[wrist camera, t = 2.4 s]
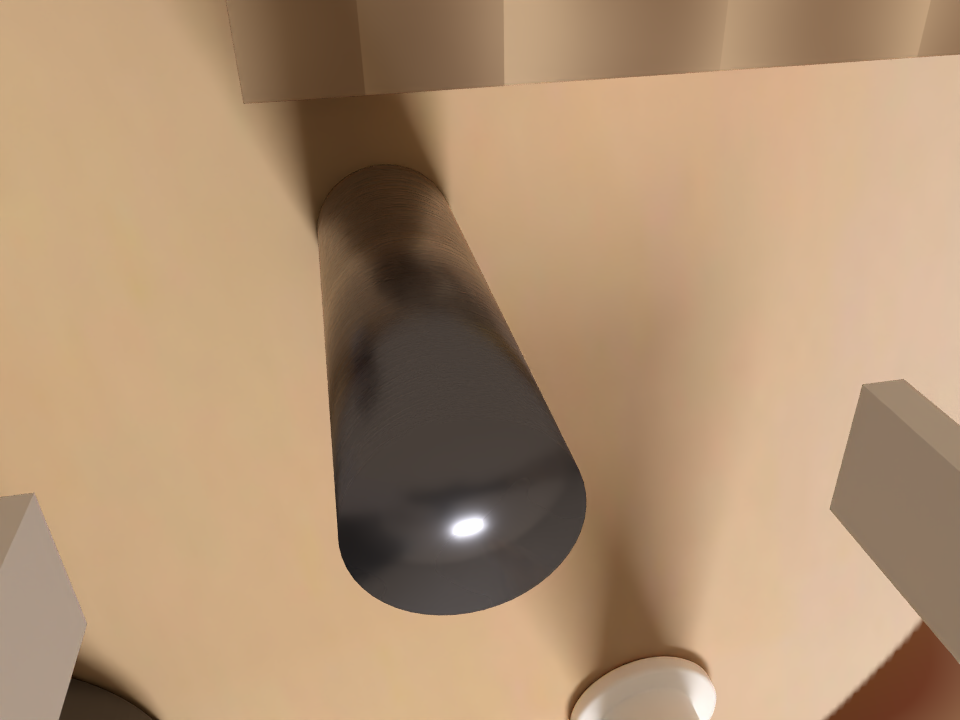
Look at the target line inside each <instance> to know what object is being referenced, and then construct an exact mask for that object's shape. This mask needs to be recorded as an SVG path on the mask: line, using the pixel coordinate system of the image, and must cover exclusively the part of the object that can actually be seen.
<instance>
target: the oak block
mask: <svg viewBox="0 0 960 720" xmlns="http://www.w3.org/2000/svg"><path fill="white" fill-rule="evenodd" d="M226 4H227V10H228V16H229V21H230V27H231V33H232V39H233V45H234V50H235V56H236V62H237V68H238V74H239V80H240V85H241V91H242V97H243V103H244V104H247V103H262V102H277V101H291V100H306V99H320V98H335V97H349V96H364V95H378V94H393V93H407V92H422V91H436V90H451V89H465V88H480V87H494V86H509V85H523V84H538V83H552V82H567V81H581V80H596V79H610V78H625V77H639V76H654V75H668V74H683V73H697V72H712V71H726V70H741V69H755V68H770V67H784V66H799V65H813V64H828V63H842V62H857V61H871V60H886V59H900V58H915V57H929V56H944V55H958V54H960V0H226Z"/></svg>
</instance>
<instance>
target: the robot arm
mask: <svg viewBox="0 0 960 720" xmlns="http://www.w3.org/2000/svg"><path fill="white" fill-rule="evenodd" d="M830 510H831V511H832V512H833V514H834V515H835V516H836V517H837V518H838V520H839V521H840V522H841V523H842V524H843V526H844V527H845V528H846V529H847V530H848V532H849V533H850V534H851V535H852V536H853V537H854V539H855V540H856V541H857V542H858V543H859V545H860V546H861V547H862V548H863V549H864V551H865V552H866V553H867V554H868V555H869V556H870V558H871V559H872V560H873V561H874V562H875V564H876V565H877V566H878V567H879V568H880V570H881V571H882V572H883V573H884V574H885V576H886V577H887V578H888V579H889V580H890V581H891V583H892V584H893V585H894V586H895V587H896V589H897V590H898V591H899V592H900V593H901V595H902V596H903V597H904V598H905V599H906V600H907V602H908V603H909V604H910V605H911V606H912V608H913V609H914V610H915V611H916V612H917V614H918V615H919V616H920V617H921V618H922V620H923V621H924V622H925V623H926V624H927V625H928V627H929V628H930V629H931V630H932V631H933V633H934V634H935V635H936V636H937V637H938V638H939V640H940V641H941V642H942V643H943V644H944V646H945V647H946V648H947V649H948V650H949V652H950V653H951V654H952V655H953V656H954V657H955V659H956V660H957V661H958V662H959V664H960V425H959V424H957V423H956V422H955V421H954V420H953V419H951V418H950V417H949V416H948V415H946V414H945V413H944V412H943V411H942V410H940V409H939V408H938V407H937V406H936V405H934V404H933V403H932V402H931V401H929V400H928V399H927V398H926V397H925V396H923V395H922V394H921V393H920V392H919V391H917V390H916V389H915V388H914V387H913V386H911V385H910V384H909V383H908V382H906V381H905V380H904V379H901V380H893V381H886V382H878V383H870V384H863V385H862V388H861V392H860V396H859V400H858V404H857V407H856V411H855V415H854V419H853V422H852V426H851V430H850V434H849V438H848V441H847V445H846V449H845V453H844V456H843V460H842V464H841V468H840V471H839V475H838V479H837V483H836V487H835V490H834V494H833V498H832V502H831V505H830ZM86 626H87V622H86V620H85V617H84V615H83V612H82V610H81V607H80V605H79V602H78V600H77V597H76V595H75V592H74V590H73V587H72V585H71V583H70V580H69V578H68V575H67V573H66V570H65V568H64V565H63V563H62V560H61V558H60V555H59V553H58V550H57V548H56V545H55V543H54V540H53V538H52V535H51V533H50V530H49V528H48V525H47V523H46V520H45V518H44V516H43V513H42V511H41V508H40V506H39V503H38V501H37V498H36V496H35V493H29V494H21V495H13V496H6V497H0V720H153V719H152V718H150V717H149V716H148V715H147V714H145V713H144V712H143V711H142V710H140V709H139V708H137V707H136V706H134V705H133V704H131V703H129V702H128V701H126V700H124V699H122V698H121V697H119V696H117V695H115V694H113V693H111V692H108V691H106V690H104V689H101V688H99V687H97V686H94V685H91V684H88V683H86V682H83V681H80V680H76V679H73V678H71V676H72V673H73V670H74V666H75V663H76V660H77V656H78V653H79V649H80V646H81V643H82V639H83V636H84V633H85V629H86Z"/></svg>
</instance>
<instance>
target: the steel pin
mask: <svg viewBox="0 0 960 720" xmlns="http://www.w3.org/2000/svg"><path fill="white" fill-rule="evenodd" d="M317 232H318V247H319V262H320V276H321V291H322V306H323V320H324V335H325V350H326V364H327V379H328V394H329V409H330V423H331V438H332V453H333V467H334V482H335V497H336V512H337V526H338V541H339V548H340V552H341V556H342V559H343V561H344V563H345V565H346V568H347V569H348V571H349V572H350V574H351V575H352V577H353V578H354V580H355V581H356V582H357V583H358V584H359V585H360V586H361V587H362V588H363V589H364V590H366V591H367V592H368V593H369V594H371V595H372V596H373V597H375V598H377V599H379V600H380V601H382V602H384V603H386V604H388V605H391V606H393V607H396V608H398V609H402V610H405V611H409V612H414V613H420V614H427V615H457V614H465V613H471V612H476V611H480V610H485V609H488V608H491V607H494V606H497V605H500V604H503V603H505V602H507V601H510V600H512V599H514V598H516V597H518V596H520V595H522V594H524V593H525V592H527V591H529V590H530V589H532V588H533V587H535V586H536V585H538V584H539V583H540V582H542V581H543V580H544V579H545V578H546V577H548V576H549V575H550V574H551V573H552V572H553V571H554V570H555V569H556V568H557V567H558V566H559V565H560V564H561V563H562V561H563V560H564V559H565V558H566V556H567V555H568V554H569V552H570V551H571V549H572V548H573V546H574V544H575V543H576V541H577V538H578V536H579V534H580V532H581V529H582V526H583V522H584V519H585V512H586V492H585V487H584V482H583V479H582V477H581V474H580V471H579V469H578V467H577V465H576V463H575V461H574V459H573V457H572V455H571V453H570V451H569V449H568V447H567V445H566V443H565V441H564V439H563V437H562V435H561V433H560V431H559V429H558V427H557V425H556V422H555V420H554V418H553V416H552V414H551V412H550V410H549V408H548V406H547V404H546V402H545V400H544V398H543V396H542V394H541V392H540V390H539V388H538V386H537V384H536V382H535V380H534V378H533V376H532V374H531V372H530V370H529V368H528V366H527V364H526V362H525V360H524V358H523V356H522V353H521V351H520V349H519V347H518V345H517V343H516V341H515V339H514V337H513V335H512V333H511V331H510V329H509V327H508V325H507V323H506V321H505V319H504V317H503V315H502V313H501V311H500V309H499V307H498V305H497V303H496V301H495V299H494V297H493V295H492V293H491V291H490V289H489V286H488V284H487V282H486V280H485V278H484V276H483V274H482V272H481V270H480V268H479V266H478V264H477V262H476V260H475V258H474V256H473V254H472V252H471V250H470V248H469V246H468V244H467V242H466V240H465V238H464V236H463V234H462V232H461V230H460V228H459V226H458V224H457V222H456V220H455V217H454V215H453V213H452V211H451V209H450V207H449V205H448V203H447V201H446V199H445V198H444V196H443V194H442V193H441V192H440V190H439V189H438V188H437V187H436V186H435V185H434V184H433V183H432V182H431V181H430V180H429V179H428V178H426V177H425V176H423V175H422V174H420V173H418V172H416V171H414V170H411V169H409V168H405V167H401V166H396V165H376V166H370V167H367V168H363V169H360V170H358V171H356V172H354V173H352V174H350V175H348V176H347V177H345V178H344V179H343V180H341V181H340V182H339V183H338V184H337V185H336V186H335V187H334V188H333V189H332V190H331V192H330V193H329V194H328V196H327V197H326V199H325V201H324V203H323V205H322V208H321V211H320V214H319V218H318V227H317Z"/></svg>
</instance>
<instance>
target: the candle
mask: <svg viewBox="0 0 960 720" xmlns="http://www.w3.org/2000/svg"><path fill="white" fill-rule="evenodd" d="M715 704H716V692H715V688H714V685H713V683H712V681H711V680H710V678H709V676H708V674H707V673H706V672H705V671H704V670H703V669H702V668H701V667H700V666H699V665H697V664H695V663H694V662H691V661H689V660H686V659H683V658H678V657H669V656H662V657H651V658H646V659H641V660H637V661H634V662H631V663H628V664H625V665H623V666H620V667H618V668H616V669H614V670H612V671H611V672H609V673H607V674H606V675H604V676H602V677H601V678H600V679H598V680H597V681H596V682H594V683H593V684H592V685H591V686H590V687H589V688H588V689H587V690H586V691H585V692H584V693H583V694H582V695H581V697H580V698H579V700H578V701H577V703H576V705H575V707H574V709H573V711H572V714H571V719H570V720H710V718H711V716H712V714H713V712H714V708H715Z"/></svg>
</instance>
